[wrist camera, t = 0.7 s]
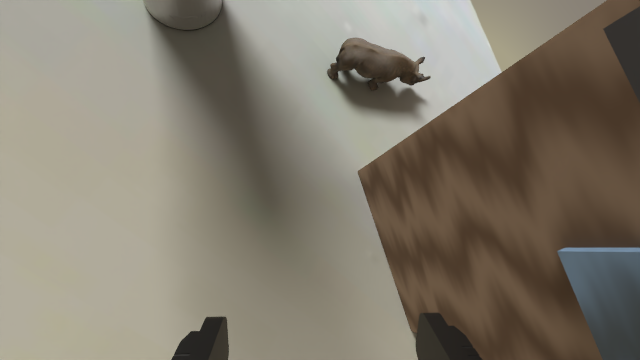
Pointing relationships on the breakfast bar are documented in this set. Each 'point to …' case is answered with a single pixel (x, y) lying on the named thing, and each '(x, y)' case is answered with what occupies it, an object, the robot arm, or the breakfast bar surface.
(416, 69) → the rhino figurine
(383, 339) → the breakfast bar surface
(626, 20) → the dark gray rectangular panel
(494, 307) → the cabinet
